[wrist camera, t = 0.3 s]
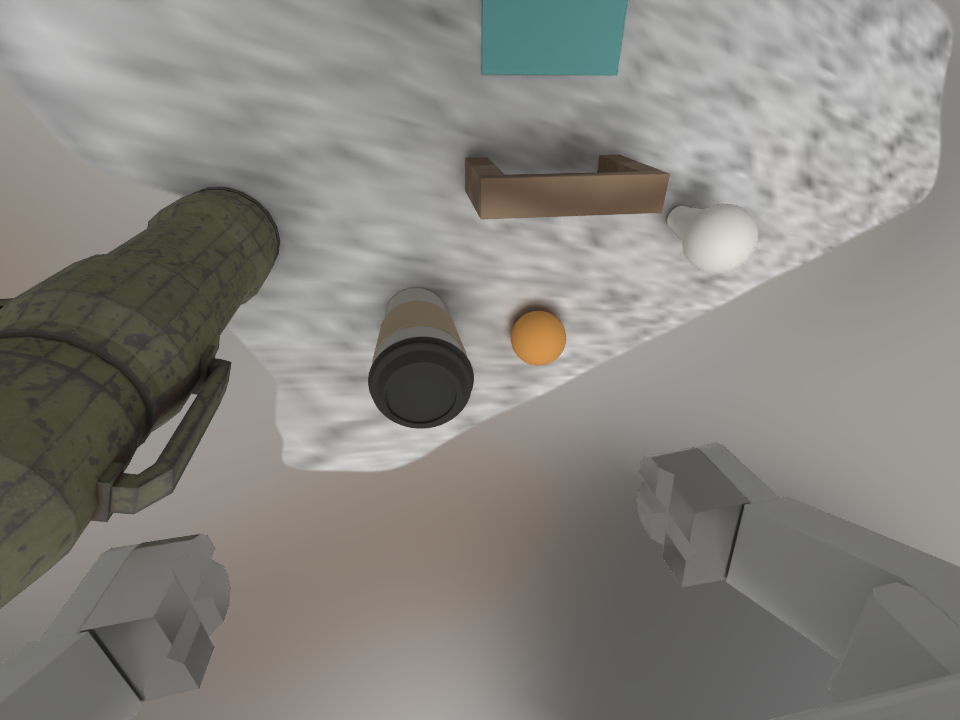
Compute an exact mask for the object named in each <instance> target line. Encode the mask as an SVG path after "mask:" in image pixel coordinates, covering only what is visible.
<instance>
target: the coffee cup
mask: <svg viewBox="0 0 960 720" xmlns="http://www.w3.org/2000/svg"><path fill="white" fill-rule="evenodd" d="M473 383H474V373H473V369H472V366H471V363H470V361H469V359H468V358H467V355H466V352H465V349H464V347H463V344H462V342H461V340H460V337H459V335H458V333H457V330H456V328H455V326H454V323H453V321H452V319H451V317H450V316H449V314H448V311H447V309H446V306H445V304H444V302H443V301H442V300H441V298H440V297H439V296H437V295H436V294H435V293H433V292H432V291H429V290H427V289H423V288H409V289H406V290H403V291H401V292H399V293H397V294H396V295H395V296H394V297H393V298H392V299H391V300H390V302H389V304H388V306H387V309H386V313H385V317H384V320H383V322H382V325H381V329H380V333H379V337H378V341H377V345H376V349H375V353H374V357H373V363H372V366H371V369H370V372H369V377H368V386H369V391H370V394H371V396H372V398H373V400H374V403H375V404H376V406H377V408H378V409H379V410H380V411H381V413H382V414H384V415H385V416H386V417H387V418H388V419H390V420H392V421H393V422H395V423H397V424H400V425H402V426H406V427H410V428H431V427H436V426H439V425H442V424H444V423H446V422H448V421H450V420H452V419H453V418H454V417H456V416H457V415H458V414H459V413H460V412H461V411H462V410H463V409H464V407H465V406H466V404H467V402H468V400H469V398H470V394H471V391H472V388H473Z"/></svg>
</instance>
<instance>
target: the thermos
mask: <svg viewBox="0 0 960 720" xmlns="http://www.w3.org/2000/svg"><path fill="white" fill-rule="evenodd" d="M279 245H280V239H279V234H278V230H277V226H276V224H275V223H274V221H273V219H272V217H271V216H270V214H269V212H268V211H267V210H266V209H265V208H264V207H263V206H262V205H261V204H260V203H259V202H258V201H256V200H255V199H253V198H251V197H249V196H248V195H246V194H244V193H243V192H240V191H237V190H233V189H229V188H226V187H212V188H206V189H203V190H201V191H198V192H195V193H193V194H191V195H188V196H186V197H183V198H181V199H179V200H177V201H176V202H174V203H172V204H171V205H169V206H167V207H165V208H163V209H162V210H160V211H159V212H158V213H157V214H156V215H155V216H154V217H153V218H152V219H151V220H150V221H149V222H148V228H147V229H146V230H144V231H143V232H141V233H140V234H138V235H136V236H135V237H133V238H132V239H130V240H128V241H127V242H125V243H124V244H122V245H121V246H119V247H117V248H116V249H114V250H112V251H111V252H109V253H108V254H102V255H94V256H91V257H89V258H86V259H83V260H81V261H78V262H75V263H73V264H71V265H70V266H68V267H66V268H64V269H63V270H61V271H59V272H58V273H56V274H54V275H53V276H51V277H49V278H47V279H46V280H44V281H42V282H41V283H39V284H37V285H36V286H34V287H32V288H31V289H29V290H27V291H25V292H24V293H22V294H21V295H19V296H17V297H15V298H11V299H0V609H1V608H2V607H3V606H4V605H6V604H7V603H8V602H9V601H11V600H12V599H13V598H14V597H15V596H17V595H18V594H19V593H21V592H22V591H23V590H24V589H25V588H27V587H28V586H29V585H31V584H32V583H33V582H34V581H36V580H37V579H38V578H39V577H40V576H42V575H43V574H44V573H46V572H47V571H48V570H49V569H50V568H52V567H53V566H54V565H55V564H56V563H57V562H58V561H60V560H61V559H62V558H63V557H64V556H65V555H66V554H68V553H69V551H70V550H71V548H72V547H73V546H74V544H75V542H76V541H77V539H78V538H79V537H80V535H81V534H82V532H83V531H84V529H85V528H86V527H87V525H88V524H89V522H90V521H101V522H107V521H108V520H109V518H110V517H111V515H112V514H113V513H123V514H135V513H137V512H139V511H141V510H142V509H144V508H146V507H148V506H150V505H151V504H153V503H155V502H157V501H159V500H160V499H162V498H164V497H165V496H168V495H169V494H171V493H173V490H174V489H175V487H176V485H177V483H178V481H179V480H180V478H181V476H182V474H183V472H184V470H185V468H186V466H187V465H188V463H189V461H190V459H191V457H192V455H193V453H194V451H195V450H196V448H197V446H198V444H199V442H200V440H201V438H202V437H203V435H204V433H205V431H206V429H207V427H208V425H209V423H210V422H211V420H212V418H213V416H214V414H215V412H216V410H217V409H218V407H219V405H220V403H221V400H222V398H223V396H224V393H225V391H226V388H227V385H228V381H229V375H230V368H231V362H229V361H226V360H222V359H215V355H216V353H217V350H218V349H219V339H220V335H221V333H222V331H223V330H224V329H225V327H226V326H227V324H228V323H229V321H230V320H231V318H232V317H233V315H234V314H235V312H236V311H237V309H238V308H239V306H240V305H241V304H244V303H246V302H247V301H248V300H250V299H251V298H252V297H253V296H254V295H256V294H257V292H258V291H259V289H260V288H261V286H262V284H263V283H264V281H265V280H266V278H267V277H268V275H269V273H270V271H271V269H272V267H273V265H274V262H275V260H276V258H277V256H278V254H279ZM191 394H197V397H196V398H195V400H194V402H193V403H192V405H191V406H190V408H189V410H188V411H187V413H186V414H185V416H184V418H183V420H182V421H181V423H180V424H179V426H178V428H177V429H176V431H175V432H174V434H173V436H172V437H171V439H170V440H169V442H168V444H167V445H166V447H165V448H164V450H163V452H162V453H161V455H160V456H159V458H158V460H157V461H156V463H155V464H153V465H152V466H151V467H149V468H147V469H146V470H145V471H143V472H141V473H140V474H138V475H136V474H126V473H123V472H124V471H125V469H126V468H127V466H128V465H129V463H130V461H131V459H132V457H133V455H134V453H135V451H136V449H137V448H138V447H139V446H140V445H142V444H143V443H144V442H145V440H146V439H147V438H148V436H149V435H150V433H151V432H152V431H154V430H156V429H157V428H159V427H160V426H162V425H163V424H165V423H166V422H167V421H169V420H170V419H171V418H172V417H174V416H175V415H176V414H177V413H179V412H180V411H181V409H182V408H183V406H184V405H185V403H186V401H187V400H188V398H189V397H190V395H191Z"/></svg>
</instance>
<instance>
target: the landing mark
mask: <svg viewBox="0 0 960 720" xmlns="http://www.w3.org/2000/svg"><path fill="white" fill-rule="evenodd" d="M627 1H628V0H482V75H617V72H618V65H619V58H620V51H621V43H622V36H623V29H624V22H625V15H626V8H627Z"/></svg>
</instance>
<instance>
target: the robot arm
mask: <svg viewBox="0 0 960 720" xmlns="http://www.w3.org/2000/svg"><path fill="white" fill-rule="evenodd" d="M639 473H640V474H641V475H642V477H643V478H644V480H645V481H644V482H643V484H642V485H641V487H639V489H638V491H637V507H638V511H639V516H640V519H641V521H642V524H643V526H644V528H645V530H646V531H647V533H648V535H649V536H650V538H652V539H653V540H655V541H657V542H658V543H660V544H662V545H664V549H663V556H662V557H663V559H664V560H665V562H666V563H667V565H668V566H669V568H670V570H671V571H672V573H673V574H674V576H675V577H676V579H677V580H678V582H679V584H680V585H681V587H686V586H691V585H697V584H702V583H708V582H713V581H719V580H725V579H727V581H726V582H727V583H729V584H730V585H732V586H733V587H734V588H736V589H737V590H739V591H740V592H742V593H743V594H745V595H746V596H747V597H749V598H750V599H752V600H753V601H755V602H756V603H757V604H759V605H760V606H762V607H763V608H765V609H766V610H768V611H769V612H770V613H772V614H773V615H775V616H776V617H778V618H779V619H781V620H782V621H783V622H785V623H786V624H788V625H789V626H790V627H792V628H794V629H795V630H796V631H798V632H799V633H801V634H802V635H803V636H805V637H806V638H808V639H809V640H811V641H812V642H814V643H815V644H816V645H818V646H819V647H821V648H822V649H823V650H825V651H826V652H828V653H829V654H831V655H832V656H834V657H835V658H836V659H838V660H839V663H838V665H837V667H836V669H835V672H834V674H833V676H832V678H831V680H830V683H829V690H828V693H829V694H830V695H831V697H832V698H833V699H834V701H835V702H836V703H835V704H831V705H827V706H823V707H819V708H815V709H811V710H807V711H803V712H799V713H795V714H791V715H787V716H783V717H779V718H775V719H771V720H960V567H959V566H956V565H954V564H952V563H949V562H947V561H944V560H942V559H939V558H937V557H934V556H932V555H930V554H927V553H925V552H922V551H920V550H917V549H915V548H912V547H910V546H908V545H905V544H903V543H900V542H898V541H895V540H893V539H890V538H888V537H886V536H883V535H881V534H878V533H876V532H873V531H871V530H868V529H866V528H864V527H861V526H859V525H856V524H854V523H851V522H849V521H846V520H844V519H842V518H839V517H836V516H834V515H831V514H829V513H827V512H824V511H822V510H819V509H817V508H815V507H812V506H810V505H807V504H805V503H802V502H800V501H797V500H795V499H792V498H790V497H783V498H780V497H779V496H777V495H776V494H775V493H774V492H773V491H772V490H771V489H770V488H769V487H768V486H767V485H766V484H765V483H763V482H762V481H761V480H760V479H759V478H758V477H757V476H756V475H755V474H754V473H753V472H752V471H751V470H750V469H748V468H747V467H746V466H745V465H744V464H743V463H742V462H741V461H740V460H739V459H738V458H737V457H736V456H735V455H733V454H732V453H731V452H730V451H729V450H728V449H727V448H726V447H725V446H724V445H722V444H719V443H717V442H715V443H710V444H704V445H699V446H694V447H691V448H685V449H680V450H674V451H669V452H663V453H658V454H652V455H647V456H643V458H642V460H641V462H640V470H639ZM214 550H215V547H214V545H213V543H212V542H211V540H210V538H209V536H208V535H203V534H197V535H191V536H184V537H177V538H171V539H165V540H158V541H151V542H145V543H141V544H136V545H129V546H123V547H116V548H111V549H109V550H108V551H106V552H104V553H103V554H101V555H100V557H99V558H98V559H97V561H96V562H95V564H94V565H93V567H92V568H91V569H90V571H89V572H88V573H87V575H86V576H85V577H84V579H83V580H82V582H81V583H80V584H79V586H78V587H77V589H76V590H75V591H74V593H73V594H72V595H71V597H70V598H69V600H68V601H67V602H66V604H65V605H64V607H63V608H62V609H61V611H60V612H59V614H58V615H57V616H56V618H55V619H54V621H53V622H52V623H51V625H50V626H49V627H48V629H47V630H46V632H45V633H44V634H43V636H42V637H41V639H40V640H39V641H34V642H30V643H27V644H26V645H24V646H23V647H22V648H20V649H19V650H18V651H16V652H15V653H14V654H13V655H11V656H10V657H8V658H7V659H6V660H4V661H3V662H2V663H0V720H131V719H132V718H133V717H134V715H135V714H136V713H137V712H138V711H139V710H140V708H141V707H142V706H143V703H142V702H145V701H149V700H154V699H158V698H161V697H166V696H170V695H174V694H178V693H183V692H187V691H191V690H195V689H199V688H200V685H201V682H202V680H203V677H204V674H205V671H206V669H207V666H208V663H209V661H210V658H211V655H212V652H213V650H214V645H213V643H212V641H211V638H210V635H211V634H212V633H213V632H214V631H215V630H216V629H217V628H218V627H219V626H220V625H221V624H222V623H223V622H224V619H225V616H226V613H227V610H228V607H229V600H230V589H231V588H230V582H229V577H228V574H227V572H226V570H225V567H224V566H223V565H221V564H219V563H217V562H216V561H214V560H212V559H211V557H212V555H213V553H214Z"/></svg>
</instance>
